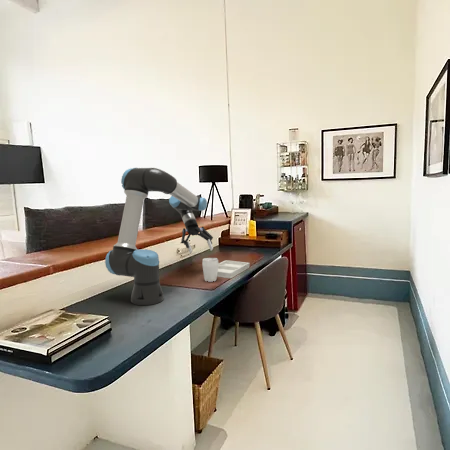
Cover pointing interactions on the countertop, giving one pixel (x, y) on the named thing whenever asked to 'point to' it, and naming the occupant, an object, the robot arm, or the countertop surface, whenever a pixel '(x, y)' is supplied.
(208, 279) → the cup
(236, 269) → the tray
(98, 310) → the countertop surface
